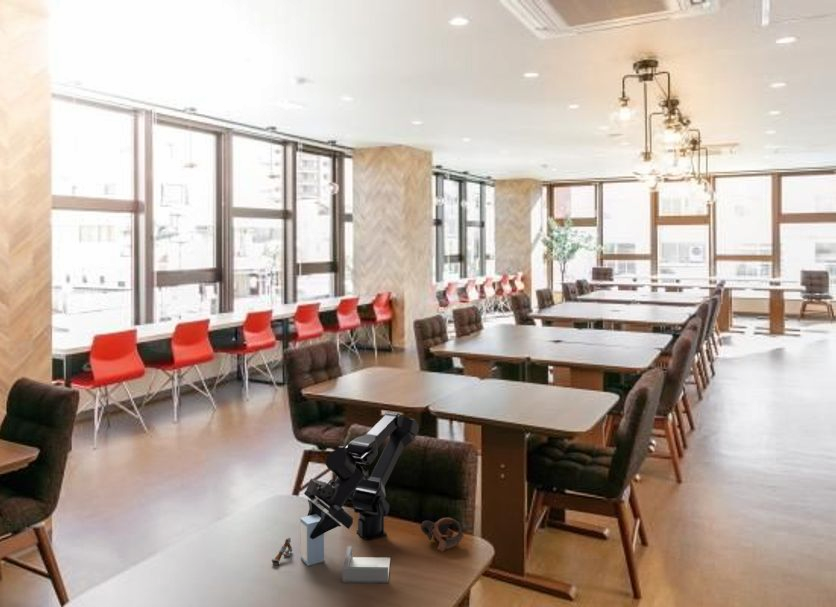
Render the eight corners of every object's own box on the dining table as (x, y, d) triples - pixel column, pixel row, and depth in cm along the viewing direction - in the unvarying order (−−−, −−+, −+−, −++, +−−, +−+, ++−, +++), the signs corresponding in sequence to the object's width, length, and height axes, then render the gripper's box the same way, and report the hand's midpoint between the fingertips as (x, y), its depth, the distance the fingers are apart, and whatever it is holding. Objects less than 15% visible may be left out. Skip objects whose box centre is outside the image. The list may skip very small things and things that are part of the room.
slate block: (316, 554, 176) (316, 514, 175) (324, 561, 172) (323, 520, 171) (300, 558, 173) (299, 517, 172) (307, 565, 169) (307, 524, 168)
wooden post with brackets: (295, 548, 177) (292, 536, 175) (281, 572, 171) (277, 560, 169) (289, 547, 178) (286, 535, 176) (275, 571, 171) (271, 559, 169)
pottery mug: (462, 538, 187) (468, 519, 183) (454, 566, 180) (460, 547, 175) (422, 523, 189) (426, 505, 184) (412, 551, 181) (417, 532, 177)
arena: (347, 559, 173) (347, 546, 173) (390, 559, 173) (390, 546, 173) (342, 582, 161) (342, 568, 161) (387, 583, 161) (387, 569, 161)
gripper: (310, 457, 180) (272, 505, 175) (342, 478, 165) (301, 532, 160) (336, 480, 185) (300, 527, 180) (369, 502, 170) (330, 555, 165)
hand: (307, 534), depth 171 cm, fingers closed on slate block, 4 cm apart
